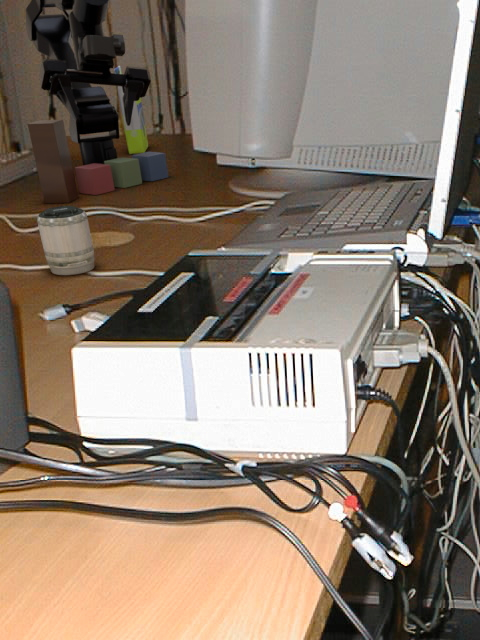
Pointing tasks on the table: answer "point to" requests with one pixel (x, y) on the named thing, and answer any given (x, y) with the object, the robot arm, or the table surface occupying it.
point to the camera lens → (66, 240)
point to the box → (133, 124)
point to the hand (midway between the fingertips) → (103, 123)
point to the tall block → (53, 161)
